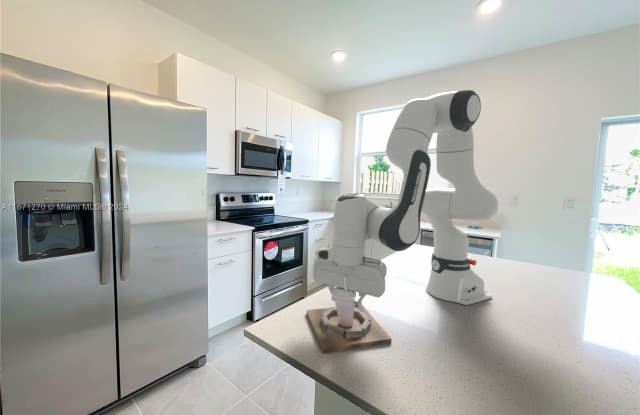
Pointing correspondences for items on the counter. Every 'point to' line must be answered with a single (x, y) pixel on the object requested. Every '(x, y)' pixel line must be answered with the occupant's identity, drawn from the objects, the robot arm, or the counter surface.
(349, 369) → the counter surface
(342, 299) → the smoothie
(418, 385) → the counter surface
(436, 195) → the robot arm
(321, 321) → the socket
